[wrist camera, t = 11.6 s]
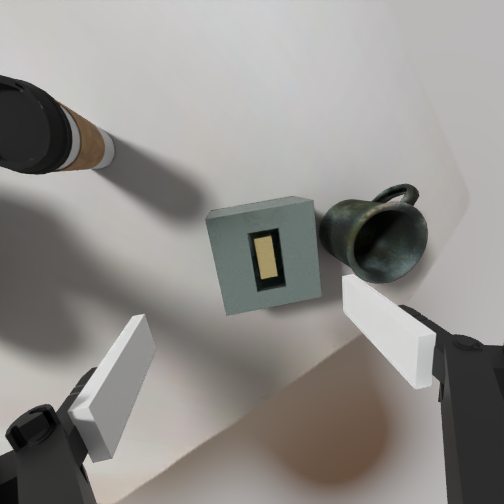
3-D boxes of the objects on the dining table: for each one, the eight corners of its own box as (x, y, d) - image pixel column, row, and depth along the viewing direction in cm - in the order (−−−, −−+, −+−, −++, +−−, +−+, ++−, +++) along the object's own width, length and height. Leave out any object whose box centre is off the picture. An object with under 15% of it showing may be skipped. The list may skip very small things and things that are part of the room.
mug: (303, 238, 43) (331, 258, 31) (355, 166, 40) (406, 159, 28) (348, 268, 45) (389, 297, 34) (399, 203, 42) (463, 210, 31)
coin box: (226, 286, 44) (226, 315, 34) (210, 210, 40) (205, 219, 30) (301, 272, 44) (321, 297, 35) (293, 196, 40) (313, 200, 31)
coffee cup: (134, 140, 36) (70, 112, 21) (107, 188, 37) (31, 192, 23) (79, 102, 34) (-31, 43, 19) (53, 154, 35) (-67, 135, 21)
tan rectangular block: (255, 261, 42) (261, 279, 34) (249, 228, 40) (254, 239, 33) (268, 259, 42) (277, 275, 34) (263, 225, 40) (271, 235, 33)
